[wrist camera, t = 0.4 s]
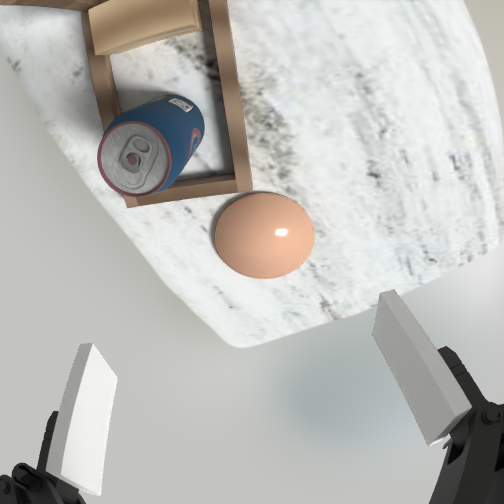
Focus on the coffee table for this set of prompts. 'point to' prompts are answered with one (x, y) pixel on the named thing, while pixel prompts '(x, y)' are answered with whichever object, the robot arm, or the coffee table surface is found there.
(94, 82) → the walnut rack
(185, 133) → the soda can
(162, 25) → the oak offcut top
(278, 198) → the glossy peach disc
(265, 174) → the coffee table surface
